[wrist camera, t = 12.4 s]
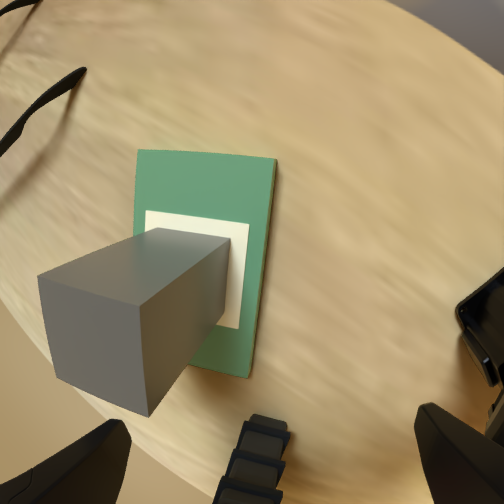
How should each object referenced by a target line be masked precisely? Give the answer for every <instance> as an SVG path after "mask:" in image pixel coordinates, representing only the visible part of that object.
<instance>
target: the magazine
mask: <svg viewBox="0 0 504 504" xmlns="http://www.w3.org/2000/svg"><path fill="white" fill-rule="evenodd" d="M286 427H287V425H286V422H284V421H280V420H276V419H272V418H268V417H264V416H261V415H257V414H253V415H252V416H251V417H250V420H249V421H244V423H243V426H242V430H241V433H240V436H239V440H238V443H237V446H236V448H234V449H233V452H232V455H231V458H230V461H229V464H228V467H227V470H226V474H225V476H222V477H221V480H220V482H219V485H218V488H217V491H216V494H215V497H214V500H213V503H212V504H280V502H281V500H282V498H283V491H281V490H276V487H277V485H278V482H279V480H280V478H281V475H282V473H283V471H284V468H285V464H286V462H285V461H281V457H282V455H283V453H284V450H285V448H286V446H287V443H288V441H289V439H290V434H291V432H287V431H286Z"/></svg>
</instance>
